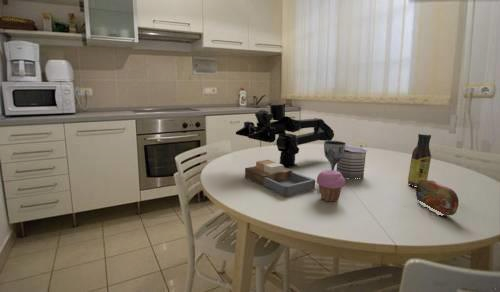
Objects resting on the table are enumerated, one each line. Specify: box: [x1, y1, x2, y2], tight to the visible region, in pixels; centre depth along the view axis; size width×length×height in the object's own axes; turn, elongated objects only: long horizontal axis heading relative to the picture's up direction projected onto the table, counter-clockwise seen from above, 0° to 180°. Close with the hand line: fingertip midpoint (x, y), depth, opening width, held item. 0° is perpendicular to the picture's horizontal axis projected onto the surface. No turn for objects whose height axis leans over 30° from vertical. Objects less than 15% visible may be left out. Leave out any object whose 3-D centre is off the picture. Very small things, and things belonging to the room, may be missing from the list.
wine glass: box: [323, 140, 347, 170], centre depth 115 cm, size 8×8×15 cm
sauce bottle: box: [407, 133, 432, 186], centre depth 109 cm, size 7×6×20 cm
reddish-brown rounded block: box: [415, 179, 459, 216], centre depth 89 cm, size 15×3×8 cm, turn 5°
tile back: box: [255, 159, 276, 170], centre depth 116 cm, size 6×4×2 cm
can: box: [335, 144, 368, 180], centre depth 121 cm, size 11×11×12 cm
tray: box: [262, 171, 316, 198], centre depth 106 cm, size 14×12×4 cm
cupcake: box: [316, 169, 346, 202], centre depth 96 cm, size 9×9×10 cm
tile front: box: [264, 162, 284, 174], centre depth 112 cm, size 6×4×2 cm
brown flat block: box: [244, 165, 293, 187], centre depth 116 cm, size 14×12×4 cm
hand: (242, 134), depth 118 cm, fingers open, 9 cm apart
